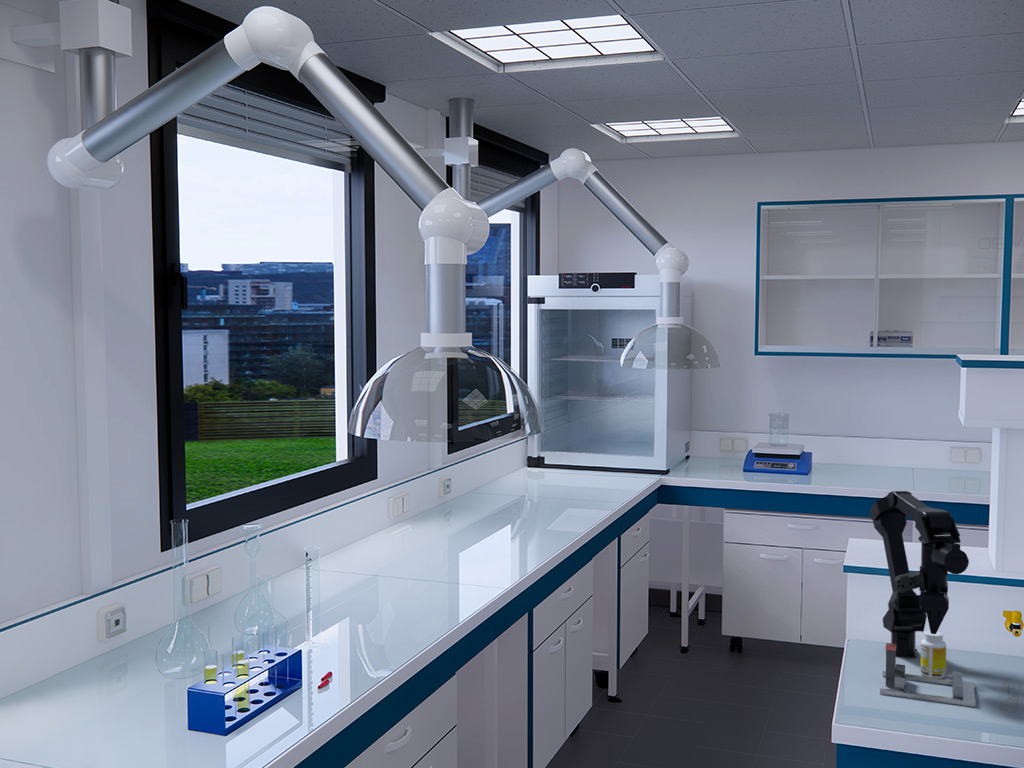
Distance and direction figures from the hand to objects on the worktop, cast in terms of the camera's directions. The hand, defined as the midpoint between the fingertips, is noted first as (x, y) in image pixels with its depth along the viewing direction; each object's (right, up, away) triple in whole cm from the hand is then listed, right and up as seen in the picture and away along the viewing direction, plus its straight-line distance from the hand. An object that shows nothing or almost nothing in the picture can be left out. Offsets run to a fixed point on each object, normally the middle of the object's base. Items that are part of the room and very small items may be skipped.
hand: (933, 628), depth 221 cm
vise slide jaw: (-12, -12, -6) cm, 18 cm away
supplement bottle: (0, -12, 0) cm, 12 cm away
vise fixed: (-6, -12, -9) cm, 16 cm away
